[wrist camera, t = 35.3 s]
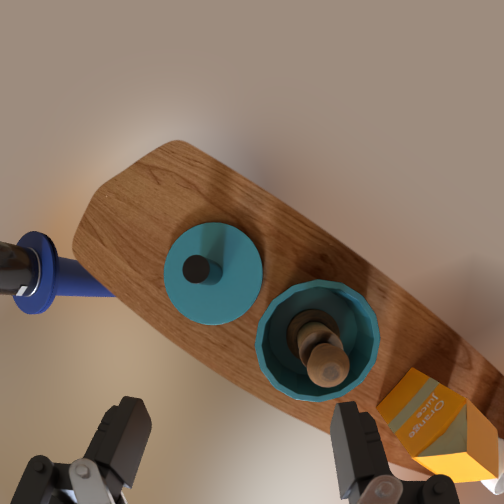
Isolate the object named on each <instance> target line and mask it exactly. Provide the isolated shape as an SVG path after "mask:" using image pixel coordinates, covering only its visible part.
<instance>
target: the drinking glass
mask: <svg viewBox="0 0 504 504" xmlns="http://www.w3.org/2000/svg"><path fill="white" fill-rule="evenodd" d="M498 453H499V475H498V479H497V478H495V479H488V480H480V481H481V482H482V483H483V484H484V486H486V487H487V488H488V489H489V490H490V491H491V492H492V493H494V494H495V495H498V494H501V493H503V492H504V440H503V439H501V438H499V437H498Z"/></svg>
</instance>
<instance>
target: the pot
mask: <svg viewBox="0 0 504 504" xmlns="http://www.w3.org/2000/svg"><path fill="white" fill-rule="evenodd" d="M306 309H319V310H322V311H324V312H326V313H328V314H329V315H330V316H332V317H333V318H334V320H335V321H336V323H337V325H338V327H339V331H340V340H341V342H342V344H343V351H344V352H345V353H346V355H347V356H348V359H349V363H350V367H349V372H348V375H347V377H346V378H345V379H344V380H343V382H341V383H340V384H338V385H336V386H334V387H321V386H319V385H317V384H315V383H314V382H313V381H312V380H311V379H310V377H309V375H308V372H307V367H306V366H305V365H304V364H303V363H302V361H301V360H299V359H298V358H296V357H295V356H294V355H293V354H292V353H291V351H290V350H289V348H288V345H287V340H286V332H287V327H288V325H289V323H290V321H291V320H292V318H293V317H294V316H295V315H296V314H298V313H299V312H301V311H303V310H306ZM379 343H380V333H379V327H378V322H377V317H376V314H375V313H374V311H373V310H372V308H371V307H370V305H369V304H368V302H367V301H366V300H365V298H364V297H363V296H362V295H361V294H360V293H358V292H356V291H355V290H353V289H352V288H350V287H348V286H347V285H345V284H343V283H341V282H334V281H327V280H320V279H316V280H312V281H308V282H304V283H300V284H296V285H293V286H291V287H290V288H289V289H287V290H286V291H284V292H283V293H282V294H280V295H279V296H278V297H276V298H275V299H273V301H272V302H271V303H270V305H269V306H268V308H267V310H266V311H265V313H264V314H263V316H262V317H261V319H260V321H259V324H258V329H257V335H256V341H255V349H256V353H257V358H258V362H259V366H260V369H261V371H262V372H263V373H264V375H265V376H266V377H267V379H268V380H269V381H270V382H271V384H272V385H273V386H274V387H275V388H276V389H278V390H279V391H281V392H283V393H285V394H286V395H288V396H290V397H292V398H293V399H297V400H304V401H312V402H322V401H326V400H330V399H334V398H338V397H341V396H343V395H345V394H346V393H348V392H349V391H351V390H352V389H353V388H355V387H356V386H358V385H359V384H360V383H362V382H363V380H364V379H365V377H366V376H367V374H368V373H369V371H370V370H371V368H372V367H373V365H374V364H375V361H376V358H377V353H378V348H379Z"/></svg>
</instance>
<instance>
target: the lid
mask: <svg viewBox="0 0 504 504" xmlns="http://www.w3.org/2000/svg"><path fill="white" fill-rule="evenodd" d="M262 279H263V267H262V261H261V258H260V255H259V252H258V250H257V248H256V247H255V245H254V243H253V242H252V241H251V240H250V238H249V237H248V236H247V235H245V234H244V233H243V232H242V231H240V230H239V229H237V228H235V227H233V226H231V225H228V224H224V223H215V222H212V223H204V224H200V225H197V226H195V227H193V228H191V229H189V230H187V231H186V232H184V233H183V234H182V235H181V236H180V237H179V238H178V239H177V240H176V241H175V243H174V244H173V245H172V247H171V249H170V251H169V253H168V255H167V258H166V261H165V266H164V282H165V287H166V291H167V293H168V296H169V298H170V300H171V302H172V303H173V305H174V306H175V307H176V308H177V309H178V311H179V312H180V313H182V314H183V315H184V316H186V317H187V318H189V319H190V320H193V321H195V322H198V323H201V324H206V325H219V324H224V323H228V322H230V321H233V320H235V319H237V318H238V317H240V316H241V315H243V314H244V313H245V312H246V311H247V310H248V309H249V308H250V307H251V306H252V305H253V303H254V302H255V300H256V298H257V296H258V294H259V292H260V289H261V285H262Z"/></svg>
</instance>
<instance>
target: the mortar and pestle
mask: <svg viewBox="0 0 504 504" xmlns="http://www.w3.org/2000/svg"><path fill="white" fill-rule="evenodd" d="M286 340H287V345H288V348H289V350H290V351H291V353H292V354H293V355H294V356H295V357H296V358H298V359H299V360H301V361H302V363H303V364H304V365H305V366H306V367H307V372H308V375H309V377H310V379H311V380H312V381H313V382H314V383H315V384H317V385H319V386H321V387H334V386H336V385H338V384H340V383H341V382H343V380H344V379H345V378H346V377H347V375H348V372H349V367H350V363H349V359H348V356H347V355H346V353H345V352H344V351H343V344H342V342H341V340H340V331H339V327H338V325H337V323H336V321H335V320H334V318H333V317H332V316H330V315H329V314H328V313H326V312H324V311H322V310H319V309H306V310H303V311H301V312H299V313H298V314H296V315H295V316H294V317H293V318H292V320H291V321H290V323H289V325H288V327H287V332H286Z"/></svg>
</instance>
